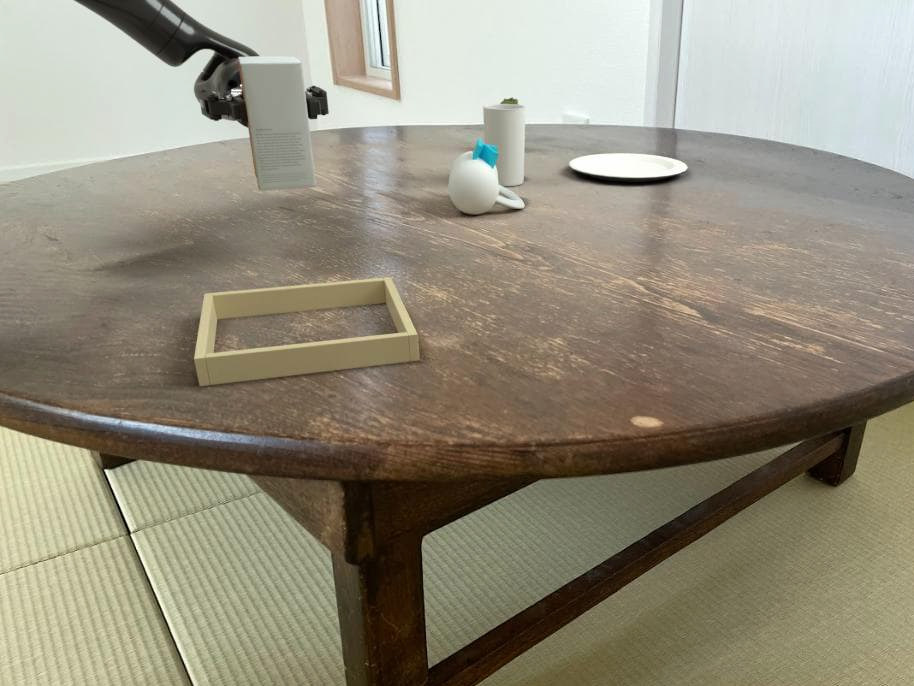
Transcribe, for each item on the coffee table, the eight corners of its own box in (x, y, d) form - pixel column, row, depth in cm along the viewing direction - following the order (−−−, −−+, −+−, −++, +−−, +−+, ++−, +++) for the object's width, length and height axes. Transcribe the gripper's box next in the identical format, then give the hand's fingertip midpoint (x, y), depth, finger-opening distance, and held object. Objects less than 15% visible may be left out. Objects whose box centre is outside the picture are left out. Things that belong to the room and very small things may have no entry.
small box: (254, 176, 94) (237, 55, 88) (310, 173, 96) (296, 55, 90) (257, 191, 87) (238, 62, 81) (317, 188, 89) (303, 61, 83)
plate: (687, 164, 148) (688, 155, 147) (686, 189, 130) (687, 178, 129) (576, 159, 151) (576, 150, 150) (559, 183, 133) (560, 172, 132)
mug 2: (464, 144, 107) (465, 130, 118) (439, 207, 111) (443, 188, 121) (543, 180, 110) (537, 163, 120) (517, 239, 113) (514, 218, 124)
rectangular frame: (200, 392, 63) (193, 358, 62) (209, 322, 77) (204, 293, 75) (420, 366, 68) (417, 334, 67) (393, 304, 81) (390, 276, 80)
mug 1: (531, 185, 131) (531, 108, 126) (493, 188, 129) (491, 110, 123) (508, 173, 140) (508, 100, 134) (472, 176, 137) (470, 102, 132)
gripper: (313, 122, 104) (348, 142, 91) (195, 128, 98) (214, 151, 85) (306, 59, 100) (341, 71, 87) (183, 62, 94) (202, 75, 81)
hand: (279, 110), depth 86 cm, fingers closed on small box, 7 cm apart
